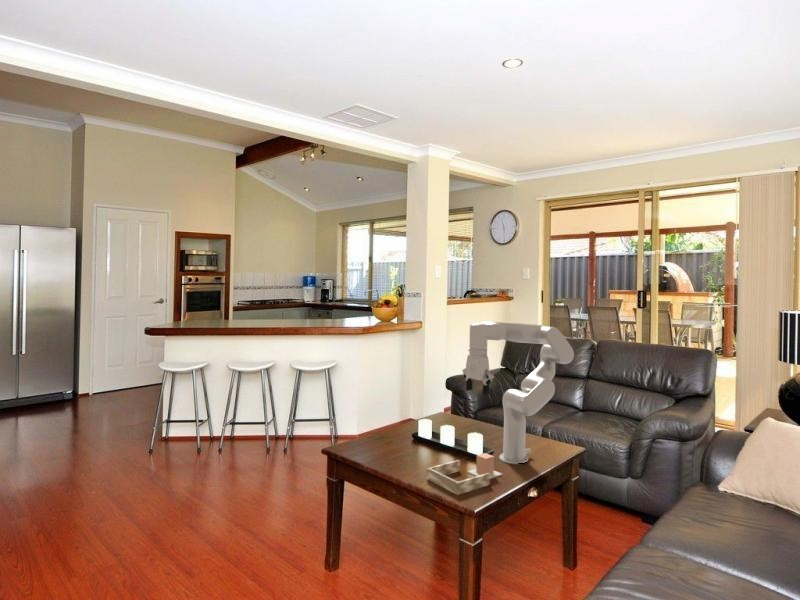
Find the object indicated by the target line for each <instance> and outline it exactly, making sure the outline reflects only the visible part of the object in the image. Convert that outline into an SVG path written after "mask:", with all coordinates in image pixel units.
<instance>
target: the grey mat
mask: <svg viewBox="0 0 800 600" xmlns="http://www.w3.org/2000/svg"><path fill="white" fill-rule="evenodd" d="M467 474H469V475H471V476H473V477H475V476H479V475H482V474H480V473H478V472H476V468H474V469H471V470H467ZM502 476H503V473H501V472H499V471H496V470H494V473H493V474H490V480H491V479H495V478H498V477H502Z"/></svg>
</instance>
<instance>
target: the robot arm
mask: <svg viewBox="0 0 800 600" xmlns="http://www.w3.org/2000/svg"><path fill="white" fill-rule="evenodd" d="M501 340H504V341H508V342H512V343H519V344H521V343H523V344H538V345H539V344H540V345H542V346H541V348H540V353H539V354H540V356H539V357H540V358H539V359H540V360H539V363H538V365H537V367H536V368H535V369H534V370H533V371H531V372H530V373H529V374H528V375H527V376H526V377H525V378H524V379H523V380H522V382H521V383H520V389H521V390H520V389H516V388H509V389H507V390H505V392H504V394H503V395H502V406H503V441H502V442H503V444H502V450H503V451H502V453H501V454H500V455H499V456H498V457H499V460H500V461H501V462H503V463H506V464H510V465H519V464H518V463H525V462H527V461H528V462H529V457H528V456H527V454H530V453H532V449H531V448H530V447H528V448H526V431H527V430H526V429H527V427H526V426H527V418H526V417H531V416H534V415H535V414H536V413H538V412H539V411H540V410H541V409H542V408H543V407H544V406H545V405H546V404H547V403H548V402H550V400H551V399H552V398H553V396H554V395H555V393H556V386H555V383H554V382H553V381H552V380H553V379H554V377H555V375H556V364H562V365H568V364H570V363H572V361H573V360H574V357H575V352H574V349H573V347H572V346H571V344H570V343H569V341H568V340H567V339H566V337H565V336H564V335H563V333H562V332H561V331H560V330H559V329H558V328H556V327H555V326H549V325H548V326H547V325H542V324H532V323H520V322H501V321H500V322H499V321H489V320H487V321H486V320H485V321H482V322H474V323H471V324H470V325H469V348H468V352H469V354H467V358H466V361H465V362H466V364H465V368H463V369H461V370H462V373H463V377H464V380H465V382H466V383H465V384H466V385H465V388H466V389H465V390H466V391H472V390H473V380H476V381H482V383H483V386H482V395H484V396H486V395H489V394H490V385H491V384H492V383H493V380H494V378H495V375H494V374H492V373H491V371H490V362H489V356H488V341H501ZM528 462H527V463H528ZM525 464H526V463H525Z"/></svg>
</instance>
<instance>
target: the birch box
mask: <svg viewBox="0 0 800 600" xmlns="http://www.w3.org/2000/svg"><path fill="white" fill-rule="evenodd" d="M460 471H461V459H460V460H459V459H456V460H453V461H449V462H445V463H441V464H438V465H434V466H431V467H427V468H426V480H427V481H429V482H431V483H434V484H435V485H437V486H439V487H441V488H443V489H445V490H447V491H448V492H451V493H453V494H455V495H457V496H459V495H462V494H465V493H469V492H471V491H475V490H478V489H481V488H483V487H488V486H489V485H490V484H491V479H490V473H486V474H482V475H479V476H473V477H469V478H465V479H461V480H459V481H458V480H456V479H453V478H451V477H449V476H447V475H451V474H454V473H458V472H460Z"/></svg>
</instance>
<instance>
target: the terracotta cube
mask: <svg viewBox="0 0 800 600" xmlns="http://www.w3.org/2000/svg"><path fill="white" fill-rule="evenodd" d="M475 464H476V466H475V467H476V468H475V469H476V472H478V473H480V474H486V473H490V474H493V473H494V471H495V470H494V468H495V467H494V466H495V456H494V455H491V454H489V453H487V452H484V453H479V454H477V455H476V463H475Z"/></svg>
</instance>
